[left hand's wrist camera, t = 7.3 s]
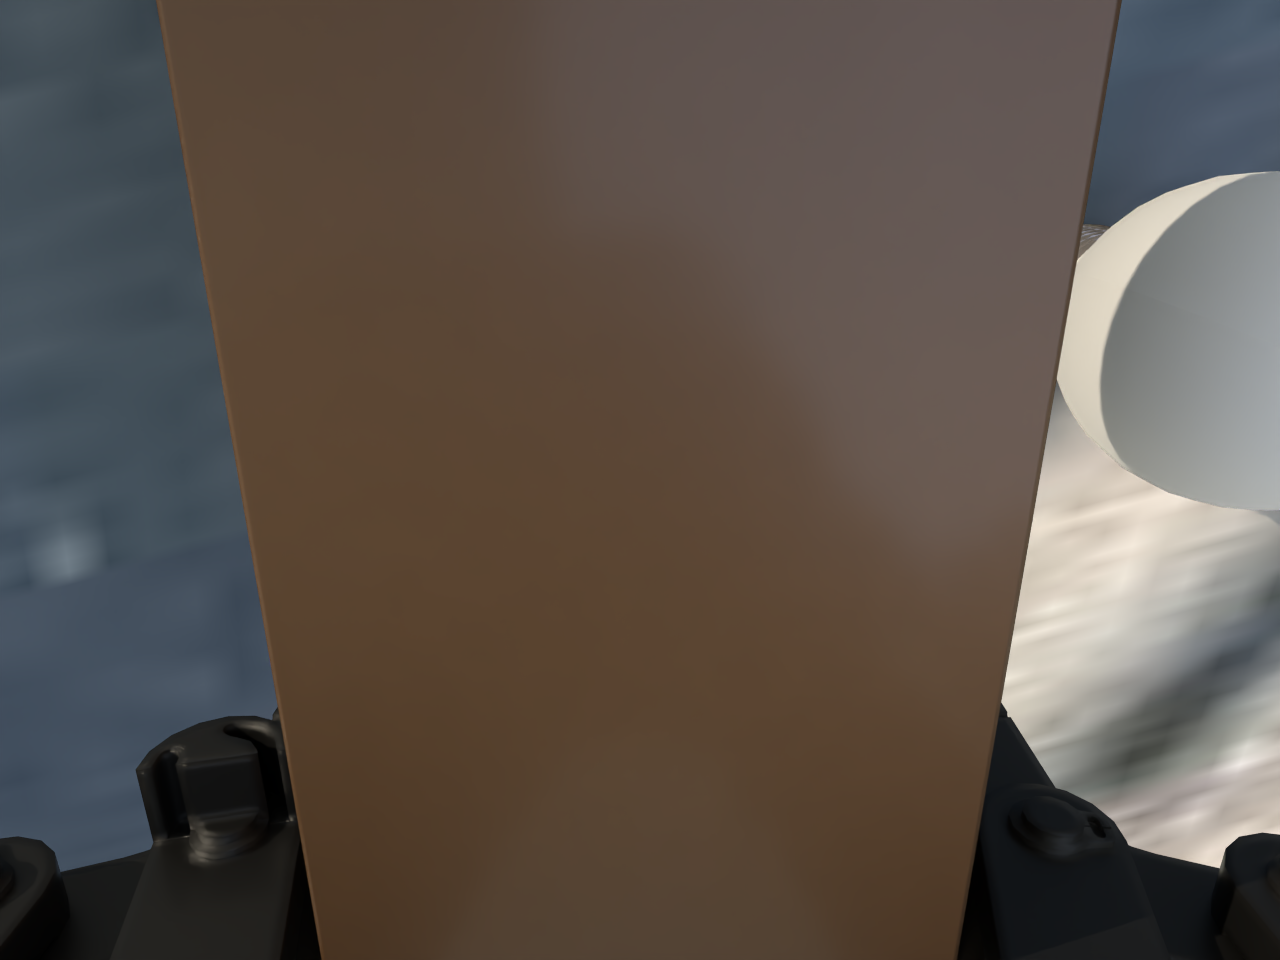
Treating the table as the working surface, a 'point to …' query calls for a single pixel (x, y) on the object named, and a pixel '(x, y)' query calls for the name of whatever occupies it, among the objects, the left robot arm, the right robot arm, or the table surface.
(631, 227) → the bar
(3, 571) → the table surface
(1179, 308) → the light bulb
